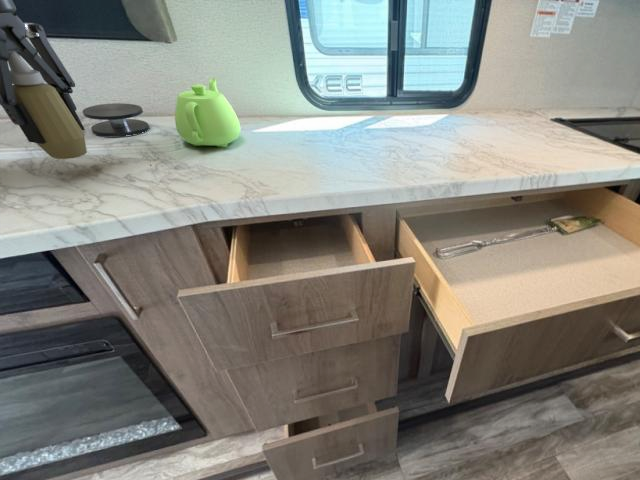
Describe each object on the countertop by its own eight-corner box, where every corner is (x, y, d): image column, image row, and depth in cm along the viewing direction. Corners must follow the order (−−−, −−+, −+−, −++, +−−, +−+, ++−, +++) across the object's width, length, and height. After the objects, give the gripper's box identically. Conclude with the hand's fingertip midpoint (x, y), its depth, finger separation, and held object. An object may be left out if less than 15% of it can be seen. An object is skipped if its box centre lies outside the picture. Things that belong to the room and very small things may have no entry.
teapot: (200, 126, 99) (184, 73, 90) (253, 129, 100) (242, 77, 92) (169, 152, 83) (145, 91, 74) (232, 155, 84) (216, 96, 76)
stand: (80, 133, 88) (68, 112, 84) (118, 120, 97) (109, 101, 94) (126, 140, 87) (116, 118, 83) (160, 126, 96) (152, 106, 93)
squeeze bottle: (99, 156, 69) (44, 49, 57) (50, 165, 65) (-22, 50, 52) (87, 145, 73) (32, 42, 61) (39, 152, 68) (-31, 42, 56)
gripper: (-96, -24, 43) (24, 156, 58) (52, -18, 58) (116, 123, 74) (-148, -31, 43) (-15, 150, 59) (13, -23, 59) (85, 119, 74)
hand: (58, 135), depth 66 cm, fingers closed on squeeze bottle, 8 cm apart
